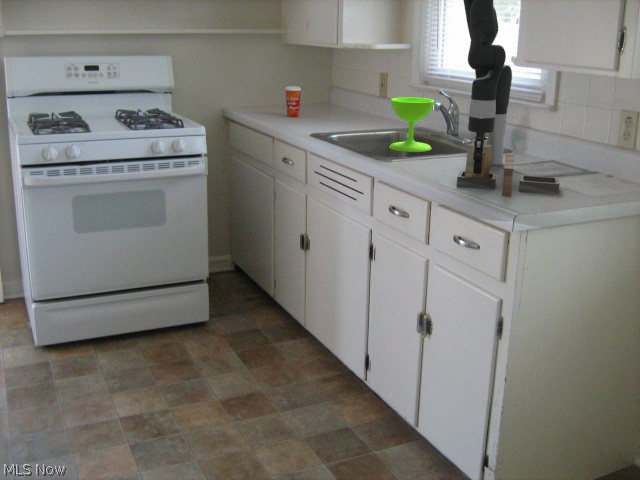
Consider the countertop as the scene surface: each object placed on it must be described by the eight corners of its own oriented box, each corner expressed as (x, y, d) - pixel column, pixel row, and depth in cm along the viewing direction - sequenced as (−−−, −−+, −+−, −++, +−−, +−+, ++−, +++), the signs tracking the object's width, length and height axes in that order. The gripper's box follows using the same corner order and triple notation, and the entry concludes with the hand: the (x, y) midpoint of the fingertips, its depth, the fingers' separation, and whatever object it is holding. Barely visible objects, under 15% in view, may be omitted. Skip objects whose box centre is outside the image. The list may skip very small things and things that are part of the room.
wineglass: (419, 153, 270) (421, 103, 264) (381, 148, 278) (383, 100, 273) (438, 147, 282) (441, 99, 277) (401, 142, 291) (404, 96, 285)
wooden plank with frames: (461, 175, 235) (462, 150, 233) (556, 181, 228) (559, 156, 226) (454, 192, 213) (456, 165, 210) (559, 200, 206) (562, 172, 204)
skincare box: (463, 184, 223) (466, 144, 219) (470, 181, 226) (473, 142, 222) (483, 187, 219) (486, 146, 215) (489, 185, 222) (492, 144, 219)
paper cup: (283, 117, 353) (283, 87, 349) (287, 114, 360) (287, 85, 356) (298, 117, 352) (299, 88, 347) (303, 115, 359) (303, 86, 354)
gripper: (470, 111, 224) (466, 166, 229) (467, 117, 211) (463, 175, 216) (496, 112, 222) (491, 167, 227) (494, 119, 209) (489, 177, 214)
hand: (477, 171), depth 221 cm, fingers closed on skincare box, 5 cm apart
